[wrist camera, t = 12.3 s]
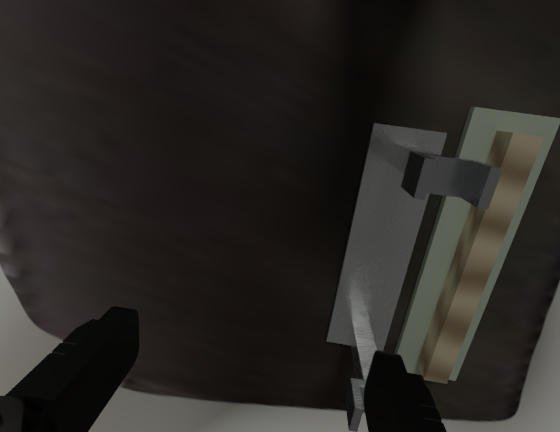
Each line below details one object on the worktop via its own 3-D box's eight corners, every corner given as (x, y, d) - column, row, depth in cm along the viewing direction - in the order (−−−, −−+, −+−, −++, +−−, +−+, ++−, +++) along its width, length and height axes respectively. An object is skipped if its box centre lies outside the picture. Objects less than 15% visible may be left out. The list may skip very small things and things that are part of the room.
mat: (470, 107, 35) (474, 107, 34) (554, 118, 35) (561, 118, 34) (390, 364, 47) (392, 369, 46) (452, 375, 47) (455, 380, 46)
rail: (496, 130, 35) (513, 132, 32) (525, 134, 34) (544, 136, 32) (416, 362, 45) (423, 379, 42) (438, 366, 45) (446, 383, 42)
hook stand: (372, 122, 36) (412, 133, 22) (443, 132, 36) (530, 149, 22) (326, 336, 46) (332, 438, 32) (381, 345, 46) (413, 453, 32)
